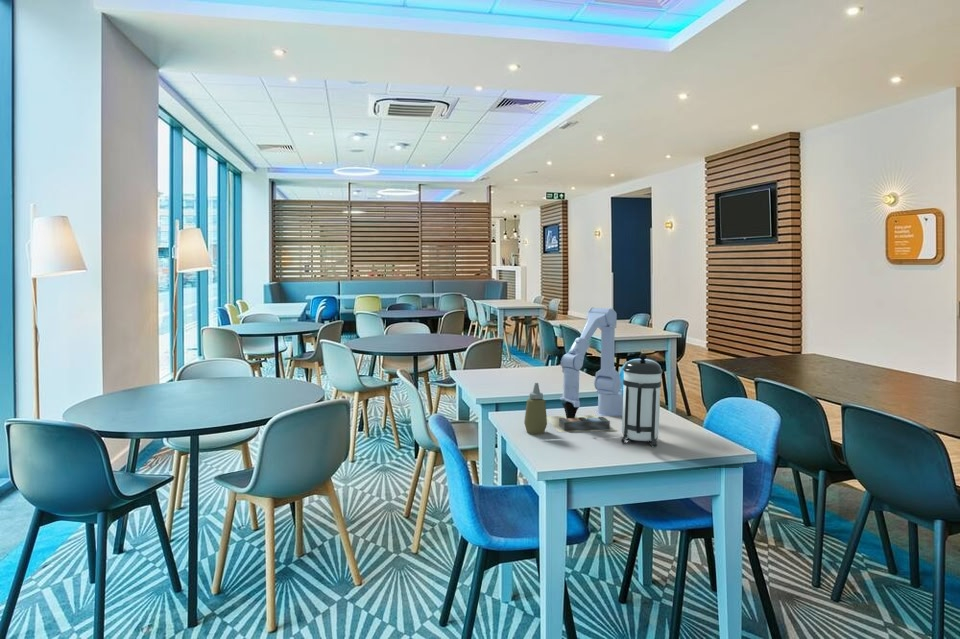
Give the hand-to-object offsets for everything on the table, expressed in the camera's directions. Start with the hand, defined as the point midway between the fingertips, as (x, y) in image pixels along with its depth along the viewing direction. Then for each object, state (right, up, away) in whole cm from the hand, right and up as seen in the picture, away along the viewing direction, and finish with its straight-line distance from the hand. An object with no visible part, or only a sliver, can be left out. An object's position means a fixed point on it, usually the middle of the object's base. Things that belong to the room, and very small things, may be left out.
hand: (570, 421), depth 209 cm
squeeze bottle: (-14, -2, -11) cm, 18 cm away
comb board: (+3, -1, +2) cm, 4 cm away
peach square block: (+1, -1, -5) cm, 5 cm away
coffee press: (+21, -4, -20) cm, 29 cm away
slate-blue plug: (+8, -1, -3) cm, 9 cm away
